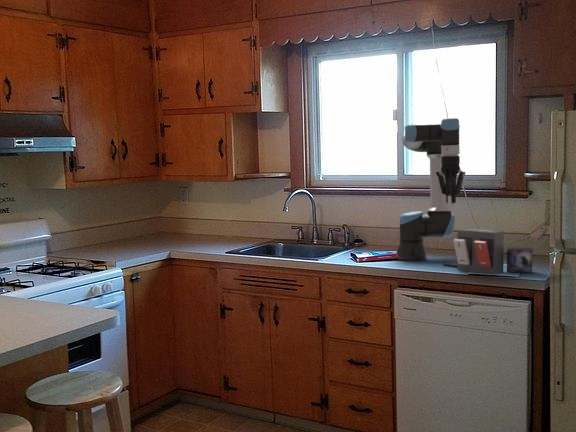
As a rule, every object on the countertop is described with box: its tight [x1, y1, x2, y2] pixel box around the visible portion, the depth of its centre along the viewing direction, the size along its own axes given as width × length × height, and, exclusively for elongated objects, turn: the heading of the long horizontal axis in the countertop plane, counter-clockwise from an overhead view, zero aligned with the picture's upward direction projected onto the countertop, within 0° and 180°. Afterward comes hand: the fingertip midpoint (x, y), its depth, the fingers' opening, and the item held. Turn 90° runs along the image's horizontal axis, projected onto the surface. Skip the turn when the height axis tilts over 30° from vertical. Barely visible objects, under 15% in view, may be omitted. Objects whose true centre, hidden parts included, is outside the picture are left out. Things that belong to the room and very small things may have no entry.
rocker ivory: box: [453, 238, 470, 265], centre depth 288 cm, size 5×2×12 cm, turn 46°
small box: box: [506, 246, 533, 275], centre depth 285 cm, size 11×6×10 cm, turn 69°
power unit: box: [442, 227, 505, 275], centre depth 293 cm, size 28×9×18 cm, turn 46°
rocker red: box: [474, 241, 491, 267], centre depth 281 cm, size 5×2×12 cm, turn 46°
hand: (451, 210), depth 277 cm, fingers closed
